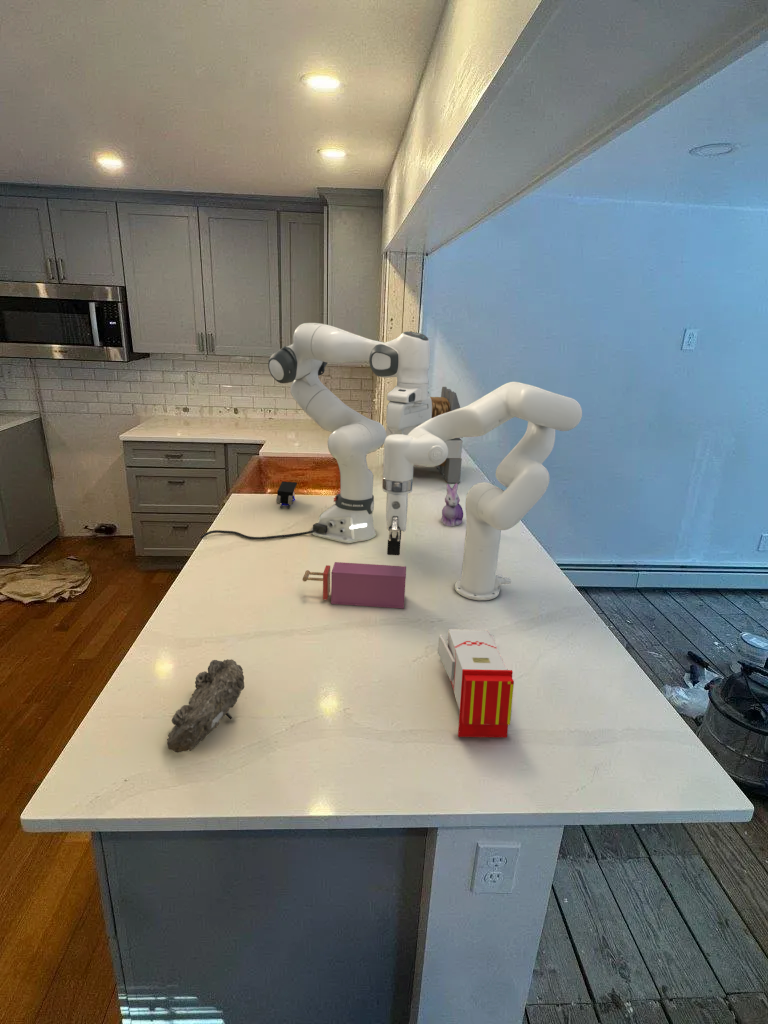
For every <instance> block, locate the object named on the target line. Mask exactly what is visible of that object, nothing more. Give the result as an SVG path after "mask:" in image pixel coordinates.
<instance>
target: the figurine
mask: <svg viewBox="0 0 768 1024" xmlns="http://www.w3.org/2000/svg"><path fill="white" fill-rule="evenodd" d="M445 487H446V495H445V497H444V502H445V505H444V506H443V507H442V510H441V519H440V522H441V523H442V524H443V525H444V526H447V527H454V526H459V525H461V524H462V523H463V519H464V511H463V508H462V505H461V504H460V501H461V499H460V496H459V494H458V489H459V483H454V485H453V487H451V485H450V483H447V484H446V486H445Z"/></svg>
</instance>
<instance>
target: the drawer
mask: <svg viewBox="0 0 768 1024" xmlns="http://www.w3.org/2000/svg"><path fill="white" fill-rule="evenodd" d="M311 576H322V577H311ZM307 581H316V582H322V600H323V601H324V600H325V601H327V600H328V598H329V596H330V594H331V565H329V564H326V565H325V567H324V570H323V572H318V571H310V570H309V569H308V570H305V571H304V573H303V576H302V582H307Z"/></svg>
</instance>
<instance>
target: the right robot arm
mask: <svg viewBox="0 0 768 1024" xmlns="http://www.w3.org/2000/svg"><path fill="white" fill-rule="evenodd" d="M582 417H583V409H582V406H581V404H580V403H579V402H578V401H577V400H576V399H574V398H573V397H570V396H566V395H563V394H559V393H557V392H553V391H549V390H546V389H544V388H541V387H538V386H535V385H532V384H528V383H524V382H519V381H509V382H506V383H504V384H502V385H500V386H499V387H497V388H495V389H494V390H492V391H490V392H489V393H487V394H485V395H483V396H482V397H480V398H478V399H476V400H474V401H473V402H472V403H469V404H468V405H466V406H463V407H460V408H459V409H456V410H453V411H450V412H447V413H444V414H441V415H438V416H436V417H433V418H431V419H429V420H428V421H426V422H424V423H422V424H421V425H419V426H417V427H416V428H414V429H413V430H412V431H411V432H410V433H409V434H408V435H403V434H393V435H389V436H387V437H386V438H385V441H384V444H383V458H382V459H383V462H382V463H383V464H382V482H381V483H382V487H381V490H382V491H383V492H384V493H386V503H385V504H386V505H385V507H386V508H385V512H386V513H385V515H386V521H385V522H386V530H387V531H388V539H387V546H386V547H387V548H386V554H387V555H388V556H400V555H401V541H402V532H403V533H404V532H406V531H407V520H408V505H409V504H408V503H409V494H411V493H412V492H413V482H414V467H415V466H414V465H419V466H418V467H428V468H429V467H431V468H432V467H437V466H438V465H440V464H442V463H443V462H444V461H445V460H446V458H447V456H448V447H447V445H446V443H445V441H447V440H450V439H454V438H459V437H463V438H476V437H482V436H485V435H486V434H488V433H489V432H491V431H493V430H494V429H496V428H497V427H500V426H501V425H503V424H504V423H506V422H508V421H510V420H512V419H513V418H516V419H520V420H523V421H526V422H527V426H526V430H525V432H524V434H523V436H522V438H520V440H518V442H517V444H516V445H515V446H514V447H513V448H512V449H511V450H510V451H509V452H508V453H507V455H506V456H505V457H504V458H503V459H502V460H501V461H500V462H499V463H498V465H497V467H496V469H495V478H496V480H497V481H498V482H499V483H500V484H501V485H502V486H503V487H505V490H504V489H502V488H500V487H499V486H497V485H495V484H493V483H490V482H486V481H485V482H483V481H481V482H478V483H475V484H474V485H472V486H471V487H470V488H469V490H468V491H467V493H466V497H465V517H466V518H465V519H466V520H465V521H466V524H465V537H464V547H463V548H464V549H463V557H462V565H461V577H460V579H458V580H457V581H456V582H455V584H454V590H455V591H456V593H457V594H458V595H460V596H461V597H464V598H466V599H469V600H473V601H489V600H494V599H496V598H497V597H498V596H499V595H500V586H502V585H511V583H512V579H511V577H510V576H507V577H504V576H503V574H497V570H498V569H497V568H498V560H499V553H500V545H501V544H500V543H501V535H502V531H507V530H510V529H511V528H512V529H513V528H514V527H515V526H516V525H517V524H518V523H519V522H520V521H522V520H523V518H524V517H525V516H526V515H527V514H528V513H529V512H530V511H531V510H532V509H533V508H534V506H535V505H536V504H537V503H538V502H539V501H540V500H541V499H542V497H543V496H544V495H545V493H546V492H547V490H548V488H549V485H550V473H549V471H548V469H547V467H545V466H544V465H543V464H544V462H545V461H546V460H547V459H548V457H549V456H550V454H551V453H552V451H553V450H554V447H555V442H556V431H559V432H569V431H571V430H573V429H575V428H576V427H577V426H578V425H579V424H580V422H581V420H582V419H583V418H582Z"/></svg>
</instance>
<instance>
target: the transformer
mask: <svg viewBox="0 0 768 1024" xmlns="http://www.w3.org/2000/svg"><path fill="white" fill-rule="evenodd" d="M440 393H441V394H440V396H430V398H431V400H432V417H431V418H433V417H436V416H438V415H441V414H444V413H447V412H450V411H453V410H456V409H459V408H461V405H460V402H459V398H458V395H457V392H455V391H453V390H452V389H451V388H447V386H442V387H441V392H440ZM389 402H390V401H388V404H389ZM388 404H387V405H386V409H387V408H388ZM385 414H386V415H385V423H386V424H387V411H386V413H385ZM414 428H416V425H415V426H412V427H408V428H405V429H404V432H403V435H408V434H409V433H410V432H411V431H412V430H413V429H414ZM385 430H386V437H387V436H389V435H393V434H396V432H395V430H392V429H389V428H388V426H387V425H386V428H385ZM463 438H464V437H459V438H454V439H450V440H447V441H445V443H446V445H447V447H448V456H447V458H446V460H445V461H444V462H443V463H442V464H440V465H438V466H436V468H437V470H438V469H439V473H440V474H441V475H443V478H444V479H445V481H446V482H447V484H456V483H457V484H459V483H461V472H462V461H463V460H462V453H463V442H464V441H463V440H462V439H463ZM415 466H416V467H417V466H418V467H420V466H419V465H414V467H415Z"/></svg>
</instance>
